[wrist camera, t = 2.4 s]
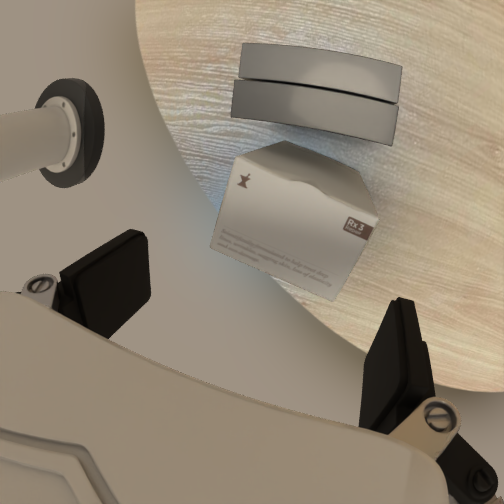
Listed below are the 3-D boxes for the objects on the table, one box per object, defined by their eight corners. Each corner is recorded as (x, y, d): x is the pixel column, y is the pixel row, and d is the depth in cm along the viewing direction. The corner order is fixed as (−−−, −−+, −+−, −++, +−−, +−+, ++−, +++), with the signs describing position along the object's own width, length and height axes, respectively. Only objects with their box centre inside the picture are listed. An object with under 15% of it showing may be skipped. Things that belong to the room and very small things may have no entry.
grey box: (272, 117, 27) (230, 117, 18) (278, 66, 25) (239, 40, 15) (376, 137, 25) (392, 146, 16) (383, 84, 23) (404, 64, 13)
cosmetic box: (265, 191, 31) (198, 249, 18) (285, 136, 28) (227, 151, 15) (341, 225, 30) (330, 311, 17) (366, 171, 27) (382, 219, 14)
